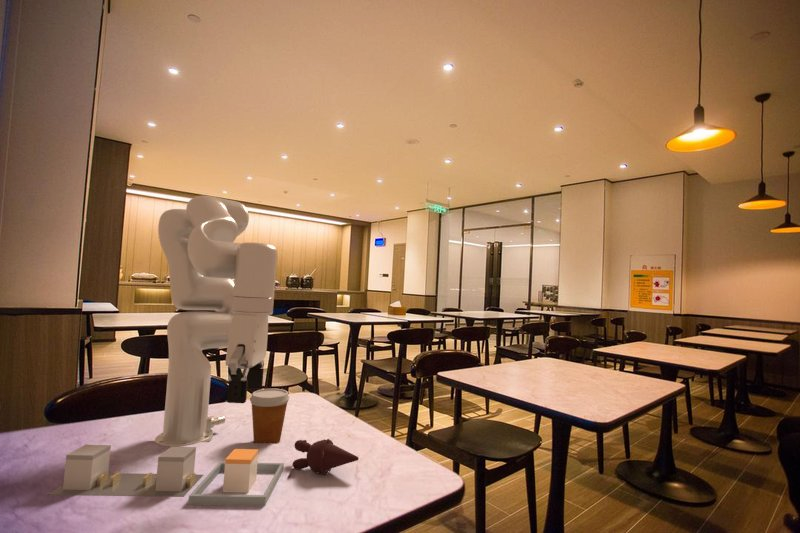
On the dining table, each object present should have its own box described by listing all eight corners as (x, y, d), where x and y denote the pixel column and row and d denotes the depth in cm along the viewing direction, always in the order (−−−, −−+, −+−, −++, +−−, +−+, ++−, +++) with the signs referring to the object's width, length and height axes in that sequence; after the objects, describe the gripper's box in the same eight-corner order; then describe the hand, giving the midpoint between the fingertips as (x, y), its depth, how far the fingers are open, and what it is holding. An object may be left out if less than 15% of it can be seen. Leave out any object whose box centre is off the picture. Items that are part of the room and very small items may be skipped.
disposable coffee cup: (263, 452, 89) (267, 400, 90) (238, 442, 94) (242, 393, 95) (294, 440, 97) (297, 392, 98) (269, 431, 102) (273, 386, 103)
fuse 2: (169, 478, 74) (171, 446, 74) (193, 478, 74) (196, 447, 74) (155, 490, 69) (158, 456, 70) (181, 491, 69) (184, 457, 70)
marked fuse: (232, 480, 74) (234, 448, 75) (256, 480, 75) (258, 449, 75) (222, 492, 70) (225, 459, 70) (248, 493, 70) (250, 459, 70)
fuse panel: (82, 477, 74) (83, 464, 74) (203, 479, 76) (204, 466, 76) (47, 500, 66) (48, 484, 66) (183, 502, 68) (184, 487, 68)
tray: (218, 473, 78) (219, 461, 78) (283, 475, 79) (283, 463, 79) (187, 510, 65) (189, 495, 65) (264, 511, 66) (265, 497, 66)
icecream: (365, 438, 84) (303, 435, 88) (353, 442, 77) (286, 438, 81) (363, 473, 82) (300, 469, 85) (351, 480, 75) (282, 475, 79)
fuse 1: (82, 476, 73) (85, 444, 73) (107, 477, 73) (110, 445, 73) (62, 489, 68) (66, 455, 69) (89, 489, 68) (93, 455, 69)
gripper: (248, 302, 83) (241, 382, 82) (214, 307, 66) (205, 408, 65) (283, 304, 83) (277, 384, 83) (259, 310, 66) (250, 410, 65)
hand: (245, 394), depth 74 cm, fingers open, 9 cm apart
